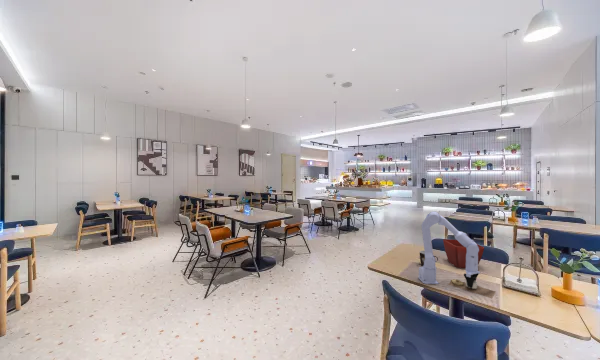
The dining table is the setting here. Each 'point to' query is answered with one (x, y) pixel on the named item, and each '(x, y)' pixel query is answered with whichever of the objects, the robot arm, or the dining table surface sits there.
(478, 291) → the walnut gear board
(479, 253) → the plant pot
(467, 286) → the cream gear ring
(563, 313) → the dining table surface
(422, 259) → the coffee mug
